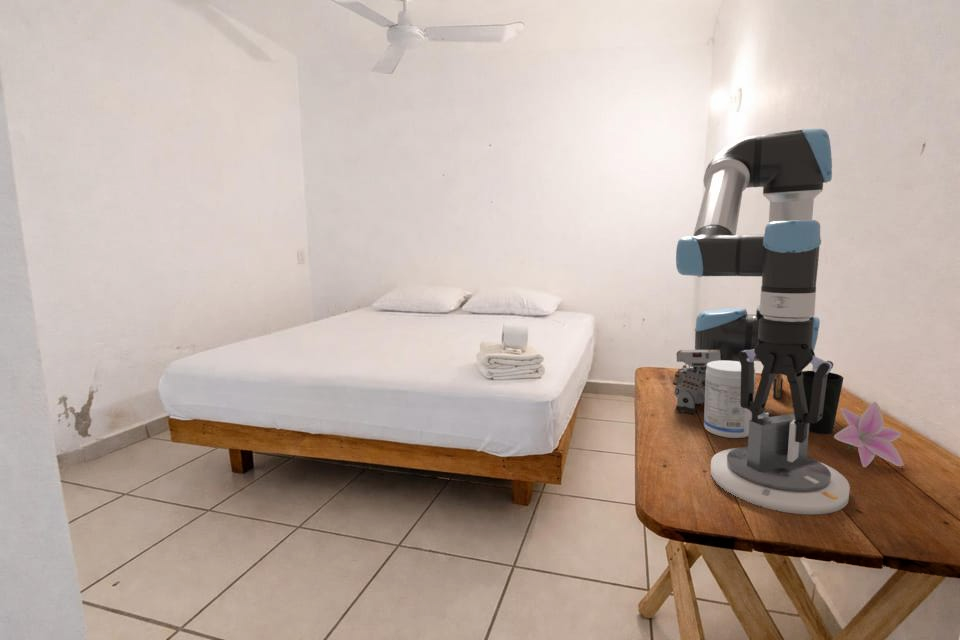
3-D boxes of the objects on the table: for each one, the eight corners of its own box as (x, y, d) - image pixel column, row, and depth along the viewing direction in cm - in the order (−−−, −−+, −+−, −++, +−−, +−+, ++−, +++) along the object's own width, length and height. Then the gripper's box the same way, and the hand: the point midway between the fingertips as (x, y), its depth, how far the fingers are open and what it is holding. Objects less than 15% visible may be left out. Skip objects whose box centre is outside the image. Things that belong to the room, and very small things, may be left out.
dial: (707, 458, 88) (709, 410, 87) (774, 446, 92) (777, 400, 91) (779, 498, 74) (782, 442, 73) (853, 482, 78) (858, 428, 77)
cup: (797, 432, 104) (801, 377, 103) (794, 420, 111) (797, 369, 109) (841, 438, 101) (846, 381, 99) (835, 425, 108) (840, 372, 106)
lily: (818, 464, 92) (846, 431, 86) (814, 422, 100) (839, 389, 95) (891, 492, 88) (926, 460, 82) (881, 446, 97) (911, 413, 91)
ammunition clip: (772, 387, 136) (775, 345, 134) (780, 388, 135) (783, 345, 133) (773, 398, 127) (776, 352, 125) (781, 399, 126) (784, 353, 124)
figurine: (720, 419, 113) (723, 356, 111) (669, 410, 120) (671, 350, 118) (727, 408, 121) (730, 348, 118) (679, 400, 127) (681, 343, 125)
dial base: (726, 448, 97) (726, 438, 97) (851, 476, 85) (853, 464, 84) (696, 488, 82) (696, 476, 82) (844, 529, 70) (845, 515, 69)
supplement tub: (721, 420, 113) (724, 357, 110) (762, 433, 104) (766, 366, 102) (693, 429, 108) (696, 364, 106) (734, 443, 100) (737, 373, 98)
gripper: (721, 315, 83) (715, 446, 87) (843, 326, 70) (830, 479, 74) (739, 310, 88) (733, 434, 92) (857, 320, 75) (844, 464, 79)
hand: (776, 454), depth 83 cm, fingers closed on dial, 4 cm apart
